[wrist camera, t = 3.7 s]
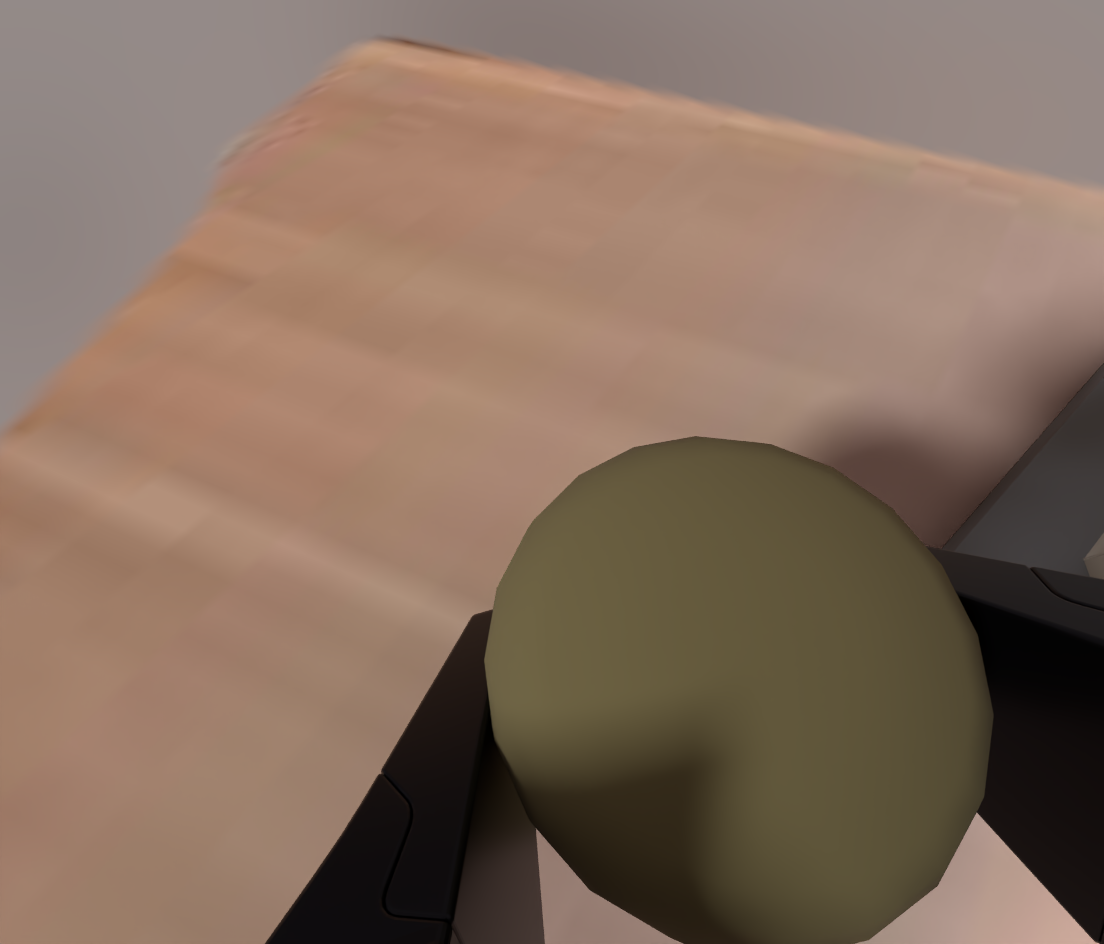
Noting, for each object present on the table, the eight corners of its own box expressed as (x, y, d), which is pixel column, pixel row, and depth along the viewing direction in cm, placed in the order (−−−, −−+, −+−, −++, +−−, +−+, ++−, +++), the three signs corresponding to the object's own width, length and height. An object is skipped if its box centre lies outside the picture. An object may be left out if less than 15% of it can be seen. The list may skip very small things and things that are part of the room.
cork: (593, 542, 16) (636, 272, 6) (773, 658, 15) (1213, 544, 5) (474, 719, 14) (258, 737, 4) (668, 874, 13) (1047, 1474, 3)
